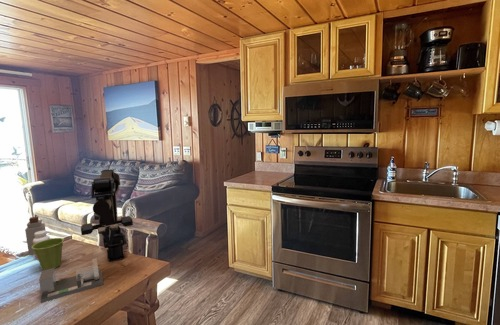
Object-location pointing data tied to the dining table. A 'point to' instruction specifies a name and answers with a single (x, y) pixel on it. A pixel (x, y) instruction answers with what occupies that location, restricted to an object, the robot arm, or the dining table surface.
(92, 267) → the block with end plate
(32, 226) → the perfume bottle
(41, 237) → the supplement bottle
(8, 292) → the dining table surface
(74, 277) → the gauge bench
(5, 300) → the dining table surface
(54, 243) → the plant pot
